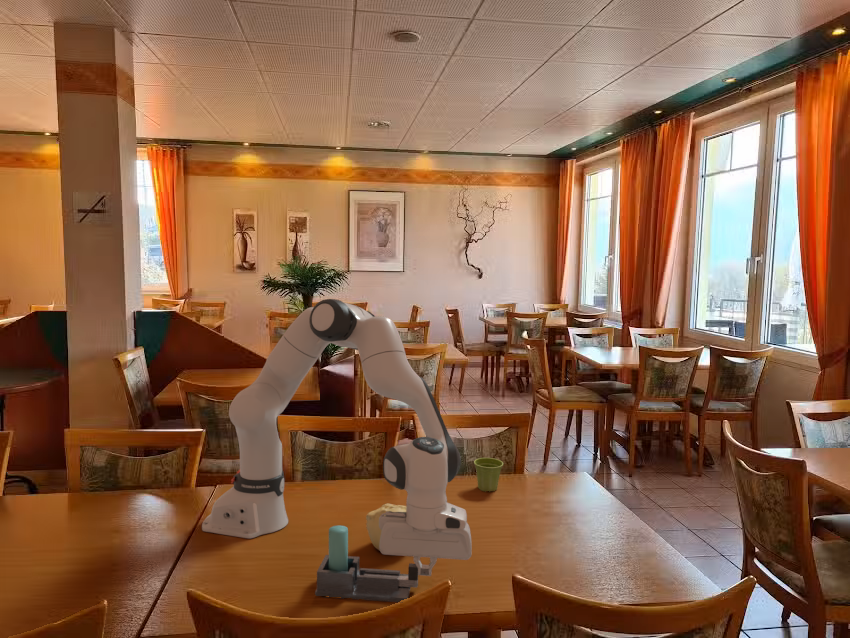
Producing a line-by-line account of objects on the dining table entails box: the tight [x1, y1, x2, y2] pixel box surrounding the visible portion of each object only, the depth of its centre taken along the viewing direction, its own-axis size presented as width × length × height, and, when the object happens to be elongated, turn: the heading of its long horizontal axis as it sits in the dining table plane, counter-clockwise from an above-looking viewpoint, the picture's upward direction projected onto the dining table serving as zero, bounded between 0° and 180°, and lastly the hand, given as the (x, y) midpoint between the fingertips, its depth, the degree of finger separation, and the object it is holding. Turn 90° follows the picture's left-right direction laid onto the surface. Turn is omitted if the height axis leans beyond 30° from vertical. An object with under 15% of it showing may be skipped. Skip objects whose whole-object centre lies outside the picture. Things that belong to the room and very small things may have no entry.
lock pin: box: [364, 562, 419, 589], centre depth 137 cm, size 12×2×5 cm, turn 85°
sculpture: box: [365, 503, 406, 551], centre depth 157 cm, size 11×12×11 cm
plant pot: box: [473, 457, 504, 493], centre depth 198 cm, size 9×9×9 cm
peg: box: [328, 525, 349, 571], centre depth 137 cm, size 4×4×12 cm
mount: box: [314, 554, 412, 603], centre depth 137 cm, size 20×10×5 cm, turn 85°
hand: (424, 574), depth 136 cm, fingers closed
